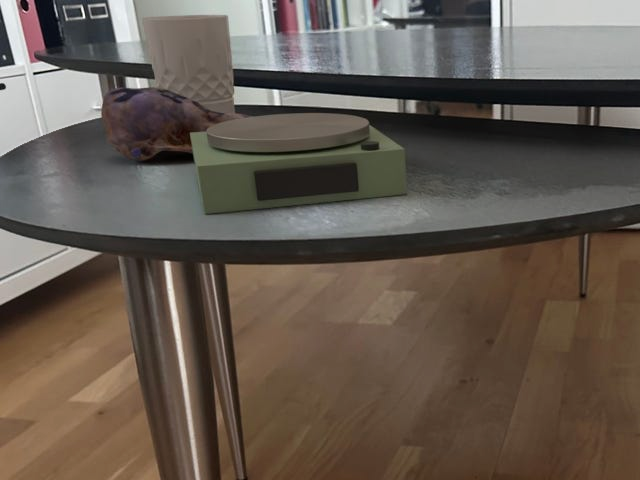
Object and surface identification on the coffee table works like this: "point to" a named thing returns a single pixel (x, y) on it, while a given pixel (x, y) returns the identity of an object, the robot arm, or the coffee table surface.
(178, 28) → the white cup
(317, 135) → the scale pan
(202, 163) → the scale
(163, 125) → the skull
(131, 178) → the coffee table surface
